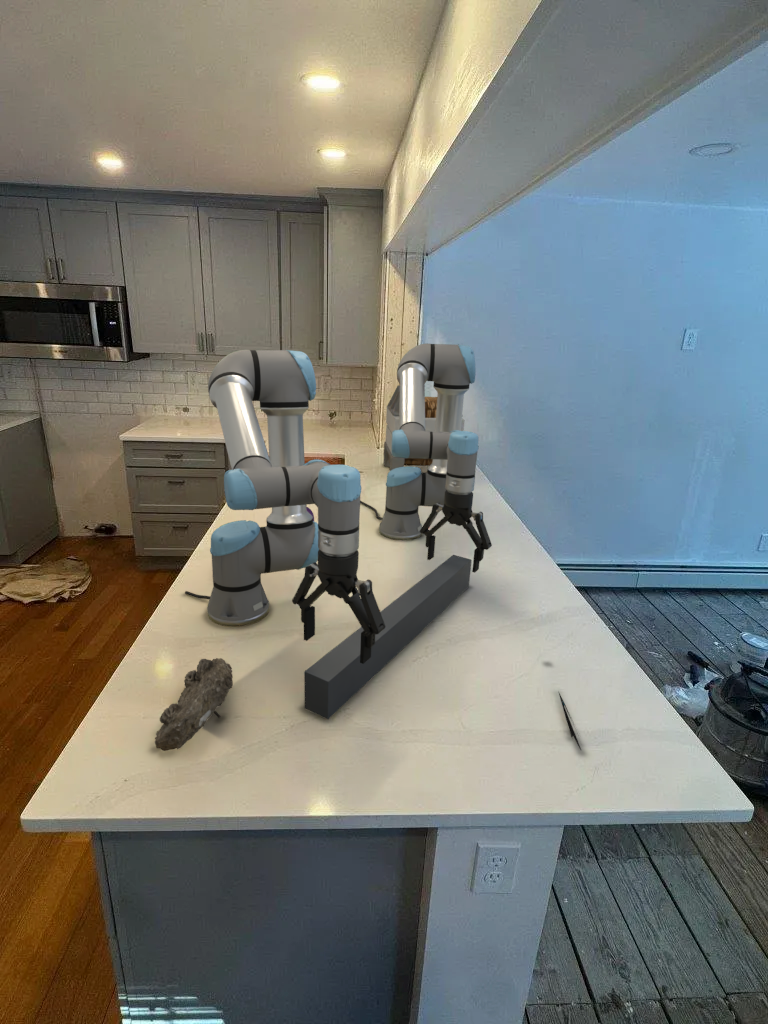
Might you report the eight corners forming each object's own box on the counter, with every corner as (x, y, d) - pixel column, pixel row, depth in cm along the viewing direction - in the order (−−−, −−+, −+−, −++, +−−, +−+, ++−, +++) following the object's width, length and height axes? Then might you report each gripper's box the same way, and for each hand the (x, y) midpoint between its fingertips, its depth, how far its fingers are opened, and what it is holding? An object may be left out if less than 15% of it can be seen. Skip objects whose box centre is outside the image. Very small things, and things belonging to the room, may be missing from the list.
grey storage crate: (382, 463, 289) (386, 382, 275) (445, 464, 293) (451, 384, 279) (390, 482, 257) (394, 392, 243) (460, 483, 261) (468, 394, 247)
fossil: (182, 659, 118) (233, 627, 113) (214, 689, 120) (265, 659, 115) (130, 744, 98) (189, 710, 93) (170, 778, 101) (229, 746, 96)
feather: (547, 667, 130) (553, 661, 129) (581, 755, 103) (588, 747, 102) (541, 664, 129) (547, 657, 129) (573, 750, 103) (580, 743, 102)
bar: (450, 581, 166) (453, 554, 164) (468, 586, 164) (471, 559, 161) (304, 708, 111) (304, 671, 109) (327, 719, 109) (328, 681, 106)
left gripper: (273, 539, 107) (275, 636, 115) (385, 574, 95) (380, 680, 103) (298, 528, 113) (299, 620, 121) (407, 559, 102) (400, 660, 109)
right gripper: (410, 485, 152) (406, 557, 159) (499, 503, 140) (490, 581, 147) (423, 479, 159) (419, 549, 165) (509, 496, 147) (500, 571, 153)
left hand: (336, 648), depth 112 cm, fingers open, 13 cm apart
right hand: (452, 564), depth 156 cm, fingers open, 13 cm apart
